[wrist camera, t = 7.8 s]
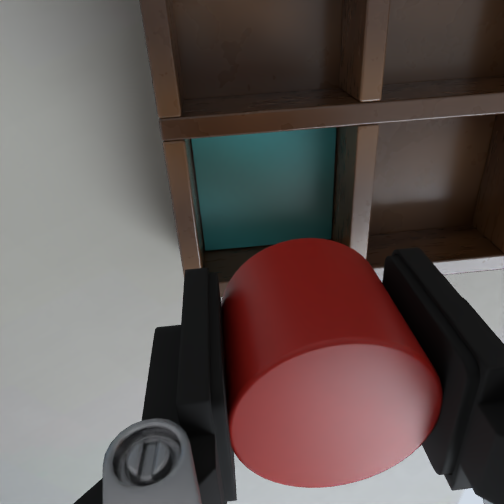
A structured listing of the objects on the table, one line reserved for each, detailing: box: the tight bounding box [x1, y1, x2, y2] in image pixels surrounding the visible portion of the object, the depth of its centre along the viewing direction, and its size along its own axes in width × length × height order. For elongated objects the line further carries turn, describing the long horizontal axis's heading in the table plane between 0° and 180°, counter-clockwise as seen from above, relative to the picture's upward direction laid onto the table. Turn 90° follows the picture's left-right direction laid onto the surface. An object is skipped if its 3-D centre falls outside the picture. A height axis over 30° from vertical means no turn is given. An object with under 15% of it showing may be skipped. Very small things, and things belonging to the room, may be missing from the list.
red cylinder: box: [221, 238, 443, 488], centre depth 10 cm, size 4×4×4 cm
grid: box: [139, 0, 504, 297], centre depth 15 cm, size 13×13×3 cm
